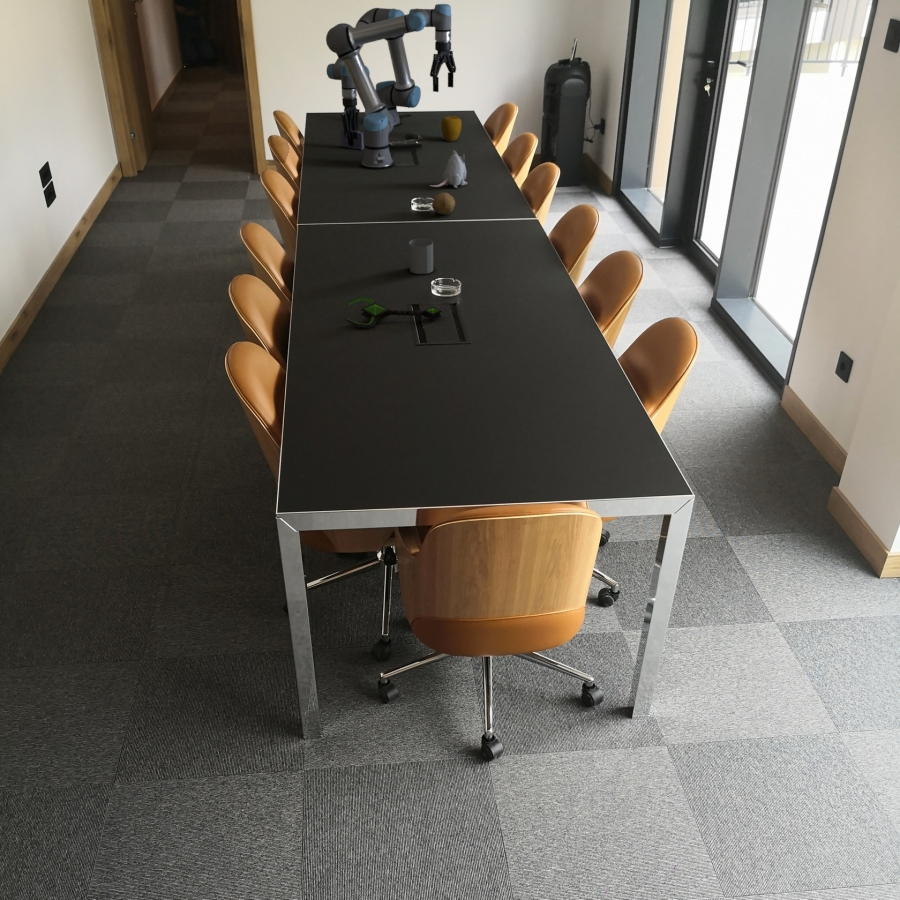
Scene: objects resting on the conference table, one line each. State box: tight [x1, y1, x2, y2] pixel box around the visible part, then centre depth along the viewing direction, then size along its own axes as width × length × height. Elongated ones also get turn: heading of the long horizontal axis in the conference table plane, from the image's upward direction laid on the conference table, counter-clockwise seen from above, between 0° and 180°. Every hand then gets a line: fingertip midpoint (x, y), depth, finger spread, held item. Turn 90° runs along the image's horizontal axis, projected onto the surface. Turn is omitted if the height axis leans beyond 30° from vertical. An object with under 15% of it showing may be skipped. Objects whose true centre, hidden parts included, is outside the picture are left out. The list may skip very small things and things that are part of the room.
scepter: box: [344, 296, 443, 329], centre depth 270 cm, size 6×13×30 cm
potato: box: [431, 192, 456, 216], centre depth 360 cm, size 10×14×8 cm
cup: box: [408, 237, 434, 275], centre depth 305 cm, size 8×8×10 cm
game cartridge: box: [340, 128, 365, 151], centre depth 454 cm, size 14×3×9 cm, turn 59°
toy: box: [428, 149, 468, 189], centre depth 390 cm, size 9×24×15 cm, turn 137°
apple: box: [441, 115, 462, 142], centre depth 467 cm, size 11×11×13 cm
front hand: (443, 89), depth 418 cm, fingers open, 13 cm apart
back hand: (352, 144), depth 456 cm, fingers closed on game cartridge, 2 cm apart
